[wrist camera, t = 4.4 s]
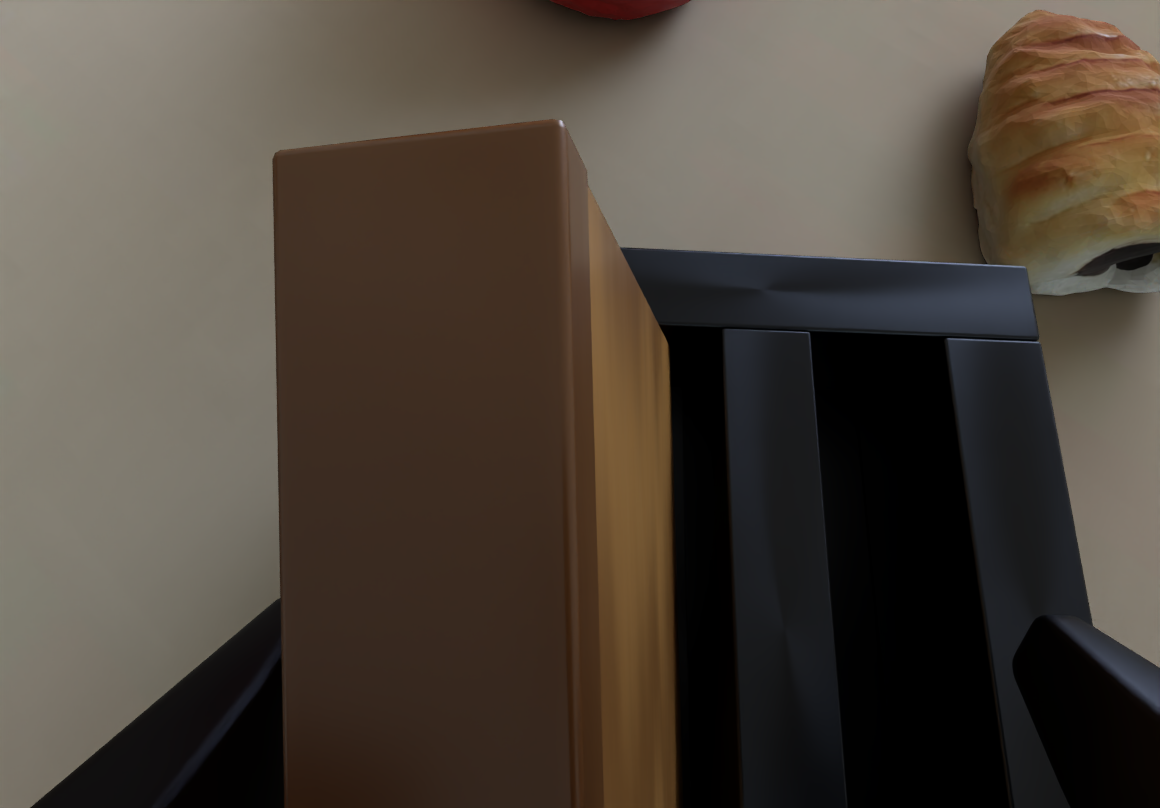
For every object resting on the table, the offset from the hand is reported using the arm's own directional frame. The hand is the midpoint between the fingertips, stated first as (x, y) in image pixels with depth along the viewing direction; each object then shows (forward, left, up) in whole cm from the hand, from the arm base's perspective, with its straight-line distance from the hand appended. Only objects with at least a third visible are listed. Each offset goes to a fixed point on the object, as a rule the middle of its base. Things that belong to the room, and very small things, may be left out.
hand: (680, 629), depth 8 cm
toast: (+1, 0, -4) cm, 4 cm away
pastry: (+16, -11, -9) cm, 21 cm away
